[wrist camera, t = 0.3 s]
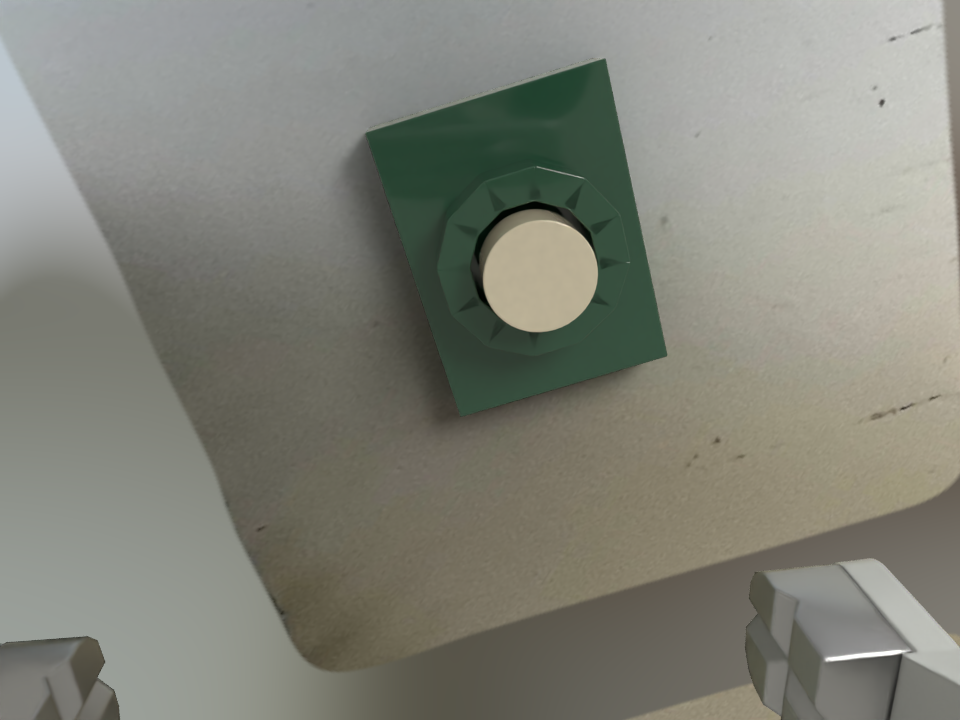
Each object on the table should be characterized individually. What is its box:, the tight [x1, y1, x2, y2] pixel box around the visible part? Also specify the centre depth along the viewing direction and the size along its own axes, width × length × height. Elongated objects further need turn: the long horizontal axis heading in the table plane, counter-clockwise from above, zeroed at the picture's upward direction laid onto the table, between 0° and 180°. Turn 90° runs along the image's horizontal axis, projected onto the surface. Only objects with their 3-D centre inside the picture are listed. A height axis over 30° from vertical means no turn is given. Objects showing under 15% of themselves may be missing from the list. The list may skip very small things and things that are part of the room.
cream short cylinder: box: [479, 209, 598, 332], centre depth 27 cm, size 4×4×2 cm
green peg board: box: [365, 58, 667, 417], centre depth 30 cm, size 12×9×4 cm
